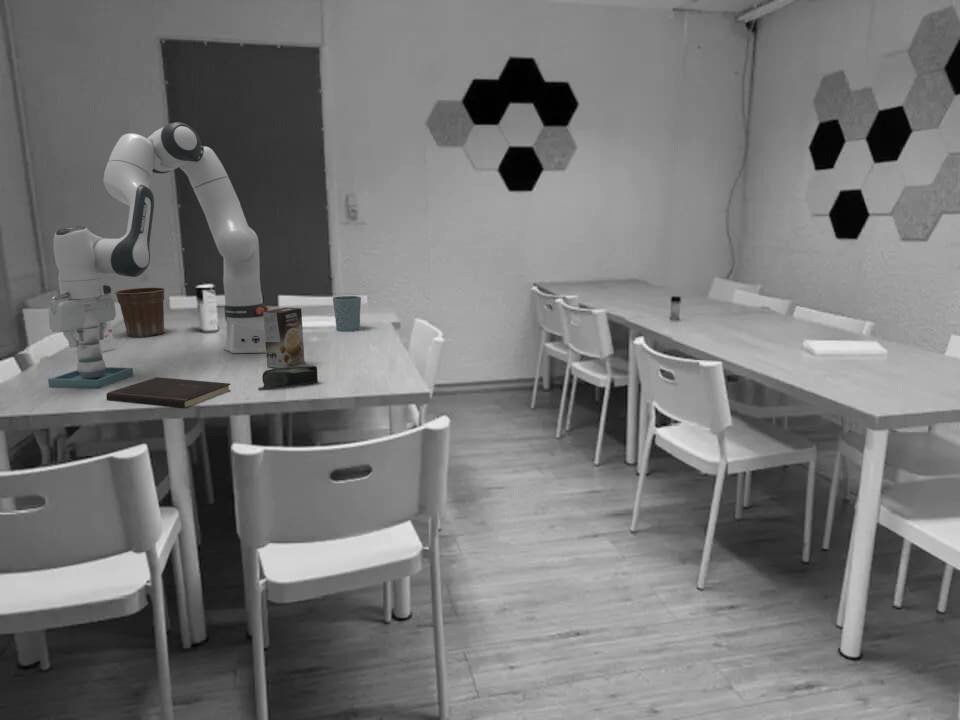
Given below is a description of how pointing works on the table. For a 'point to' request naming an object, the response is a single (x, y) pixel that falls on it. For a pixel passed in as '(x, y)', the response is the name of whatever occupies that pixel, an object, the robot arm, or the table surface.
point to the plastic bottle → (89, 348)
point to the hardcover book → (168, 392)
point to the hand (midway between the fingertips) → (87, 343)
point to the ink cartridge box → (107, 339)
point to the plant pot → (142, 311)
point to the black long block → (289, 377)
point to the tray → (76, 381)
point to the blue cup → (347, 313)
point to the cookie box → (283, 337)
